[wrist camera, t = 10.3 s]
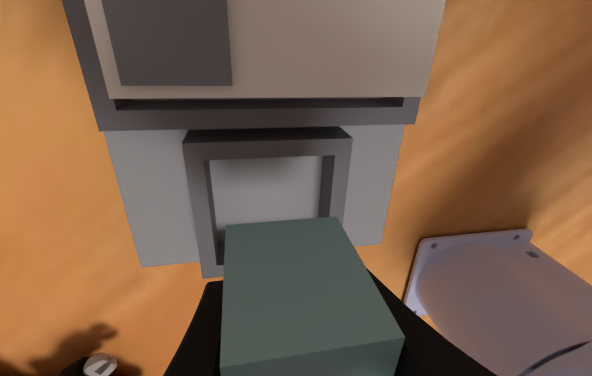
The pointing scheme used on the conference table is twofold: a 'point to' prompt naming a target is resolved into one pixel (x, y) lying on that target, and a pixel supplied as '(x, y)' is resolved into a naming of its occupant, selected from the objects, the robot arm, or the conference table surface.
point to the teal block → (302, 304)
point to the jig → (242, 161)
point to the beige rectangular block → (265, 47)
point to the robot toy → (91, 366)
